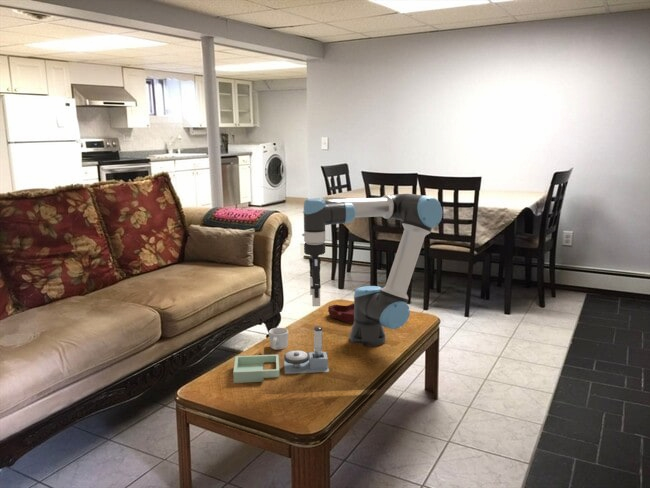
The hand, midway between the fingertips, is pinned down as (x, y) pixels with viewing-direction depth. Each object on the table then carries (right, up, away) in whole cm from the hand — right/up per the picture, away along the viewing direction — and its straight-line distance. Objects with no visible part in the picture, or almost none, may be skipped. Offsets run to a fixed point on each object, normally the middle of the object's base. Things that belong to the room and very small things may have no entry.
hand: (315, 300), depth 195 cm
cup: (-15, -23, +22) cm, 35 cm away
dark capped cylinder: (+1, -25, +4) cm, 25 cm away
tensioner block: (-3, -26, +4) cm, 27 cm away
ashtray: (+15, -15, +60) cm, 64 cm away
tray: (-21, -27, +2) cm, 34 cm away
